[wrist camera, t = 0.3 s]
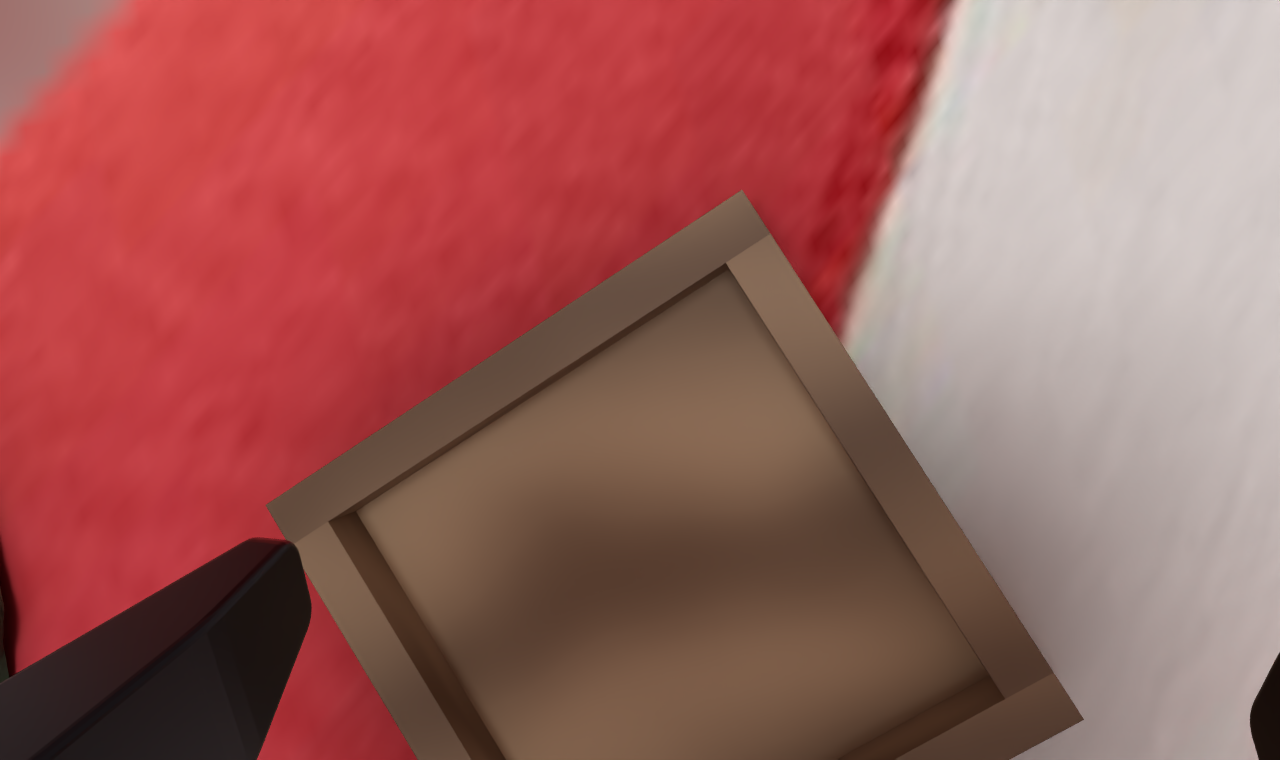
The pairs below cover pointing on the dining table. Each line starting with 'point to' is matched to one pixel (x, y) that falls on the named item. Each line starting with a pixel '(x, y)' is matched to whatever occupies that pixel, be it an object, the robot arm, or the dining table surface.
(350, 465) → the walnut dish
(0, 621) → the rose bouquet
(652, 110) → the dining table surface
